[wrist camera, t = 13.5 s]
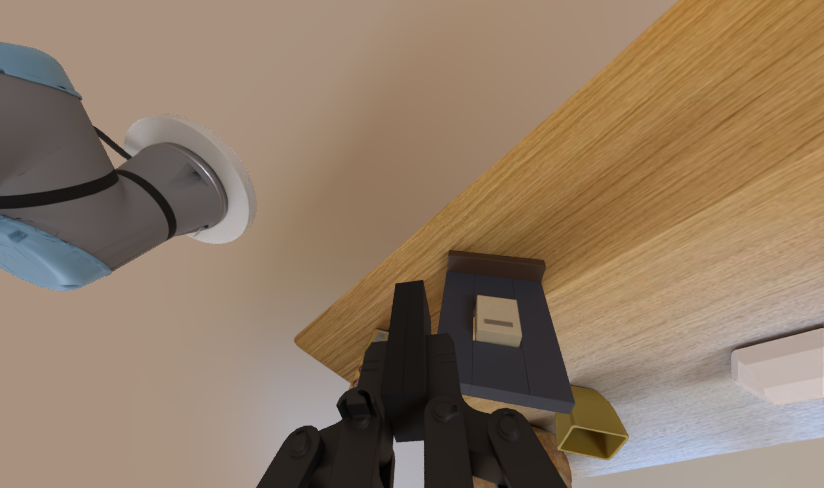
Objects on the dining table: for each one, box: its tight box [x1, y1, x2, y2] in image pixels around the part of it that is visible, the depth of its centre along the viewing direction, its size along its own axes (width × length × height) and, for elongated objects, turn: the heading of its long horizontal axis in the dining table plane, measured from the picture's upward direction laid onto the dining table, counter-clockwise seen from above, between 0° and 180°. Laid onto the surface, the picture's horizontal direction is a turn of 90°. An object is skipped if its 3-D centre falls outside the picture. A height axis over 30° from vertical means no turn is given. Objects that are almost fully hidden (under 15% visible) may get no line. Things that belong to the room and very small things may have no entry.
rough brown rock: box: [473, 427, 572, 488], centre depth 64 cm, size 23×17×15 cm
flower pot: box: [555, 385, 629, 460], centre depth 53 cm, size 9×9×9 cm
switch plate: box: [437, 250, 575, 414], centre depth 39 cm, size 12×14×20 cm
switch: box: [475, 295, 522, 347], centre depth 36 cm, size 2×5×6 cm, turn 90°
